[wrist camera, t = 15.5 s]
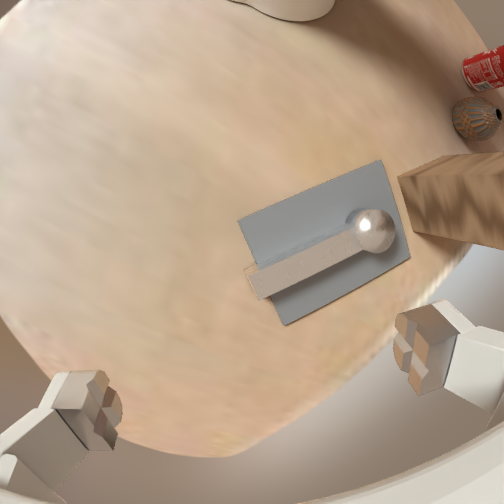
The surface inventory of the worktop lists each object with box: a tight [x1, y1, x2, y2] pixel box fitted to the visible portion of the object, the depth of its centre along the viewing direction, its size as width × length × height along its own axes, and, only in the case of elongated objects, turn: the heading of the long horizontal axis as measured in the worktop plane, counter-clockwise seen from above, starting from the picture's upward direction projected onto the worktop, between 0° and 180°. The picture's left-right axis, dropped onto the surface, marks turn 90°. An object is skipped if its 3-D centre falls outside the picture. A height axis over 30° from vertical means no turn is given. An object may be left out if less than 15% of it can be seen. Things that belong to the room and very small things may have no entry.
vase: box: [452, 97, 504, 141], centre depth 36 cm, size 7×7×9 cm
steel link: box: [244, 208, 395, 300], centre depth 37 cm, size 5×18×4 cm, turn 113°
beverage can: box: [462, 45, 504, 92], centre depth 34 cm, size 6×6×12 cm
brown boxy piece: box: [397, 152, 504, 250], centre depth 28 cm, size 11×12×28 cm
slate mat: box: [238, 160, 410, 326], centre depth 39 cm, size 14×20×1 cm
